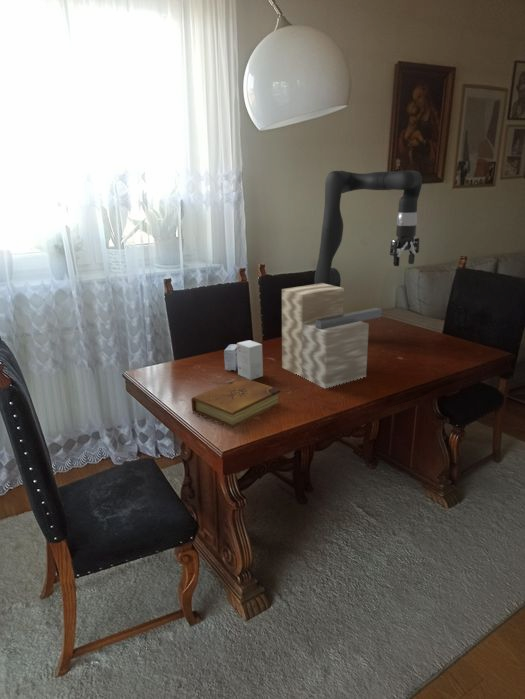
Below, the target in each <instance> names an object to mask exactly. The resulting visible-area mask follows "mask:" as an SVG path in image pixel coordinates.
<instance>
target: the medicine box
mask: <svg viewBox="0 0 525 699" xmlns="http://www.w3.org/2000/svg"><path fill="white" fill-rule="evenodd" d="M223 351H224V352H223V356H224V358H223V359H224V369H225V371H231V370H234V372H236V370H238V358H237V343H236V344H235V343H234V344H233V343H232V344H228V345H227V347H226V348H225V349H224V350H223Z"/></svg>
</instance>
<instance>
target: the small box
mask: <svg viewBox="0 0 525 699" xmlns="http://www.w3.org/2000/svg"><path fill="white" fill-rule="evenodd" d="M236 344H237V358H238V368H237V375H238V376H240V377H243V378H246V379H249V380H252V381H253V380H255V379H258V378H261V377H263V376H264V368H263V366H264V364H263V363H264V362H263V361H264V360H263V358H264V357H263V344H262V343H260V342H257V341H254V340H250V339H249V340H244V341H239V342H237V343H236Z"/></svg>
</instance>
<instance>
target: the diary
mask: <svg viewBox="0 0 525 699" xmlns="http://www.w3.org/2000/svg"><path fill="white" fill-rule="evenodd" d="M281 392H282V391H281V389H280V388H276V387H273V386H270V385H267V384H264V383H261V382H257V381H254V380H253V379H252V380H249V379H247V378H245V377H243V376H240V377H239V378H236V379H234V380H231V381H229V382H226V383H225V384H221V385H219V386H217V387H214V388H212V389H209V390H207V391H205V392H203V393H200V394H198V395H195V396H193V397H191V410H192V412H194V413H196V414H198V415H201V416H203V417H205V418H208V419H210V420H212V421H215V422H218V423H219V424H220V423H221V424H223V425H225V426H227V427H230V428H232V429H233V428H235V427H237V426H239V425H242V424H243V423H245V422H248V421H249V420H251V419H253V418H255V417H258V416H259V415H261V414H263V413H265V412H267V411H269V410H270V409H273V408H275V407H276V406H278V405H280V404H281V401H279V393H281Z"/></svg>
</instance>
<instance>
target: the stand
mask: <svg viewBox="0 0 525 699" xmlns="http://www.w3.org/2000/svg"><path fill="white" fill-rule="evenodd" d="M344 296H345V288H344V287H341V286H340V287H337V286H333V285H328V284H324V283H319V284H315V283H313V284H307V285H302V286H301V285H300V286H294V287H287V288H281V368H282V369H284V370H286V371H289V372H290V373H292V374H294V375H296V374H297V376H298V375H299V377H300V376H301V378H302V377H303V379H304V378H305V379H304V380H306V379H307V381H308V380H309V382H310V381H311V383H312V382H313V383H312V384H314V383H315V385H316V386H318V387H321V388H323V389H326V388H327V389H330V388H333V386H334V387H337V386H340V385H344V384H347V383H350V381H351V382H354V381H358V380H361V379H364V378H363V377H365V378H366V377H367V368H368V367H367V366H368V365H367V364H368V346H369V345H368V344H369V329H370V328H369V327H370V324H369V323H367V322H364V321H358V322H354V323H349V324H344V325H340V326H335V327H330V328H325V329H318V328H316V319H321V318H326V317H331V316H336V315H341V314H344V303H345V301H344V300H345V297H344ZM360 378H361V379H360ZM357 379H358V380H357ZM353 380H354V381H353ZM346 382H347V383H346ZM343 383H344V384H343ZM339 384H340V385H339ZM336 385H337V386H336ZM329 387H330V388H329Z"/></svg>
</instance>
